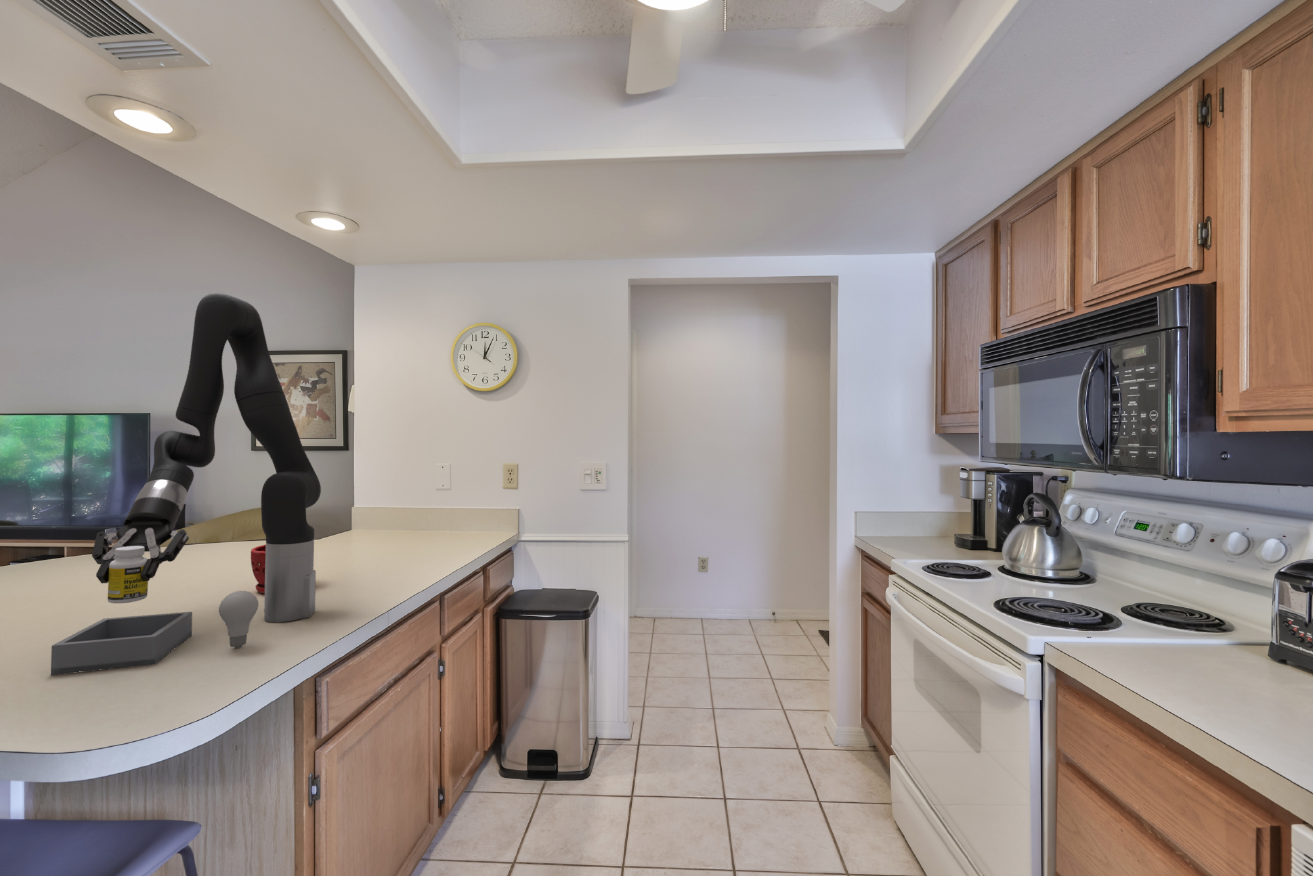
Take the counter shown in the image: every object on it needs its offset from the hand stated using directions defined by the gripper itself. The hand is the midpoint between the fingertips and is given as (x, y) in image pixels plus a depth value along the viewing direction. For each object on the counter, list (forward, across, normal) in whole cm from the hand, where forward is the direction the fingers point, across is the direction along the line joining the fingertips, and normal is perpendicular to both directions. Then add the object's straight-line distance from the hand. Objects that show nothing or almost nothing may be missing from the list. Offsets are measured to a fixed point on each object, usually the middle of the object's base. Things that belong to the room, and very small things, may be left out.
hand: (123, 579), depth 101 cm
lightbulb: (+11, +18, +9) cm, 23 cm away
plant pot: (-20, +14, +41) cm, 48 cm away
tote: (+9, 0, +11) cm, 14 cm away
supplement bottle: (+2, 0, +4) cm, 5 cm away
